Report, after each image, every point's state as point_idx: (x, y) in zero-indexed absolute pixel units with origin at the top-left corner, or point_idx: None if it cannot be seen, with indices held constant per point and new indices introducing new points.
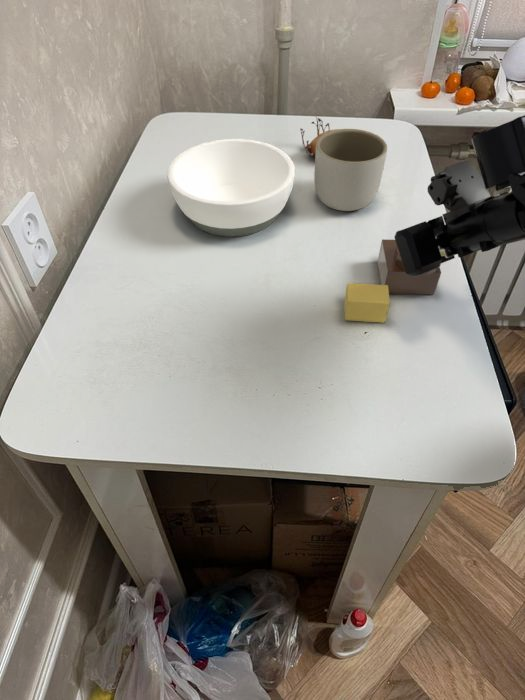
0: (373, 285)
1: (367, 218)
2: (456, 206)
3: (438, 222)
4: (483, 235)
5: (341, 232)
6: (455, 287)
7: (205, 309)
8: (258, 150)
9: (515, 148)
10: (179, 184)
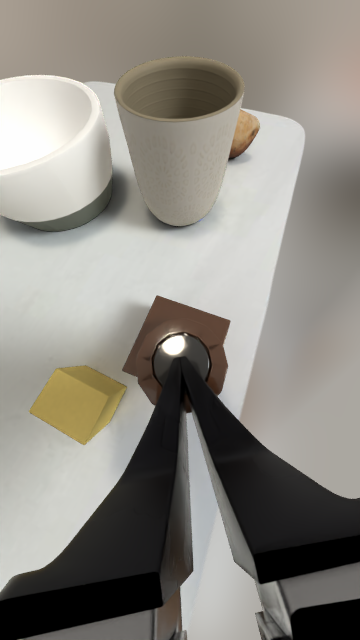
0: (87, 388)
1: (189, 240)
2: None
3: (105, 619)
4: None
5: (149, 253)
6: (234, 388)
7: None
8: (84, 103)
9: None
10: None
